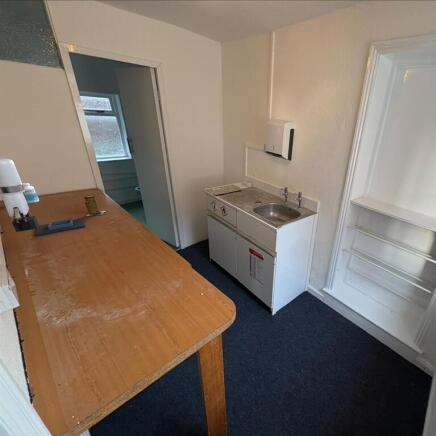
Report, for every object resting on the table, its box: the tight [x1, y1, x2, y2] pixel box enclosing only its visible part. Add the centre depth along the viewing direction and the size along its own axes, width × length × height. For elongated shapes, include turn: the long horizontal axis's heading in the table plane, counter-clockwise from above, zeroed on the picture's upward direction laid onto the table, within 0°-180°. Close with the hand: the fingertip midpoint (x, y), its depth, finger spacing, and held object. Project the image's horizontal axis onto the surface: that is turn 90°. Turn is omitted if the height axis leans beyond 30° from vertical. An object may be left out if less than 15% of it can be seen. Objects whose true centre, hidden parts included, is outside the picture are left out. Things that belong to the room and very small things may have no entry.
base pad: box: [34, 217, 86, 237], centre depth 132 cm, size 20×14×3 cm
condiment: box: [83, 194, 106, 217], centre depth 149 cm, size 7×8×12 cm
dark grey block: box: [11, 215, 39, 233], centre depth 104 cm, size 6×5×4 cm
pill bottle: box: [22, 182, 40, 204], centre depth 163 cm, size 8×7×14 cm
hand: (27, 227), depth 104 cm, fingers closed on dark grey block, 5 cm apart
